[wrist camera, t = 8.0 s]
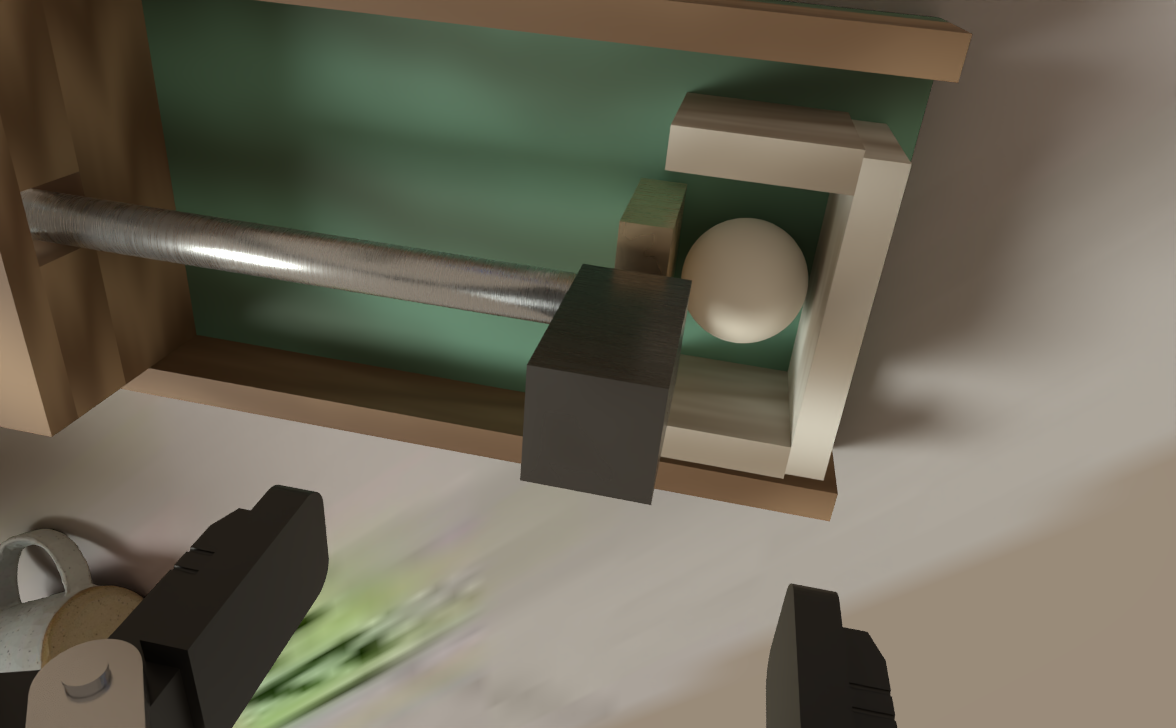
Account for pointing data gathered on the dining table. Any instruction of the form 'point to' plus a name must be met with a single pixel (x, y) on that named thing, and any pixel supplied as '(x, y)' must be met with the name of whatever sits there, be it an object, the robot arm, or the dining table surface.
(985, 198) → the dining table surface
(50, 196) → the kicker rod
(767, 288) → the ball
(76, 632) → the ceramic mug
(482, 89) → the foosball field
